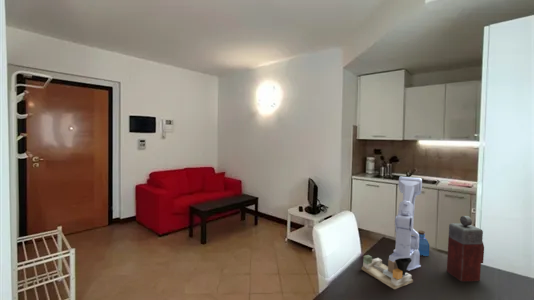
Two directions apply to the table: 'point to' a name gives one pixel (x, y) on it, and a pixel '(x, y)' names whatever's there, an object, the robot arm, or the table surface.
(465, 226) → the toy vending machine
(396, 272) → the orange cardboard cube
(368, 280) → the table surface
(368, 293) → the table surface
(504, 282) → the table surface
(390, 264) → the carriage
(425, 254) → the perfume bottle
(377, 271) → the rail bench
